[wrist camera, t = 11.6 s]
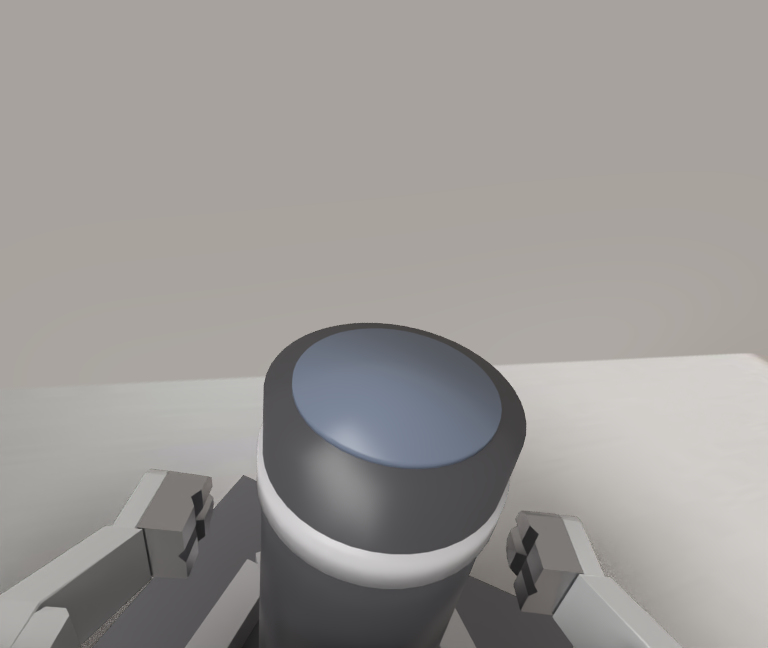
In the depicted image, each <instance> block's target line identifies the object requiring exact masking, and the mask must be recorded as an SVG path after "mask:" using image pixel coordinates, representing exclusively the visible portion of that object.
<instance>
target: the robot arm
mask: <svg viewBox="0 0 768 648" xmlns="http://www.w3.org/2000/svg"><path fill="white" fill-rule="evenodd" d="M211 488H212V477H208V476H201V475H194V474H187V473H179V472H172V471H164V470H156V469H150V470H149V471H147V472H146V473H145V474H144V476H143V477H142V479H141V480H140V482H139V484H138V485H137V487H136V488H135V490H134V492H133V493H132V495H131V496H130V498H129V500H128V501H127V503H126V504H125V506H124V508H123V509H122V511H121V512H120V514H119V516H118V517H117V519H116V520H115V522H114V524H113V525H112V526H110V525H105V526H104V527H102V528H101V529H99V530H98V531H96V532H95V533H93V534H92V535H90V536H89V537H87V538H86V539H84V540H83V541H81V542H80V543H78V544H77V545H75V546H74V547H72V548H71V549H69V550H68V551H66V552H65V553H63V554H61V555H60V556H58V557H57V558H55V559H54V560H52V561H51V562H49V563H48V564H46V565H45V566H43V567H42V568H40V569H39V570H37V571H36V572H34V573H33V574H31V575H30V576H28V577H27V578H25V579H24V580H22V581H20V582H19V583H17V584H16V585H14V586H13V587H11V588H10V589H8V590H7V591H5V592H4V593H2V594H1V595H0V648H82V647H81V644H83V643H84V642H85V641H86V640H87V639H88V638H89V637H90V636H91V635H92V634H93V633H94V632H95V631H96V630H98V629H99V628H100V627H101V626H102V625H103V624H104V623H105V622H106V621H107V620H108V619H109V618H110V617H111V616H112V615H114V614H115V613H116V612H117V611H118V610H119V609H120V608H121V607H122V606H123V605H124V604H125V603H126V602H127V601H129V600H130V599H131V598H132V597H133V596H134V595H135V594H136V593H137V592H138V591H139V590H140V589H141V588H142V587H143V586H145V585H146V584H147V583H148V582H149V581H150V580H151V577H165V578H180V579H188V577H189V575H190V572H191V570H192V568H193V565H194V563H195V560H196V558H197V555H198V553H199V552H198V541H200V540H201V539H202V538H203V537H205V536H206V533H207V530H208V528H209V525H210V521H211V517H212V514H213V505H214V503H213V497H212V496H211V495H210V494H209V493H210V491H211ZM516 523H517V526H516V527H515V528H513V529H511V530H510V533H509V535H508V538H507V547H506V551H507V559H508V563H509V567H510V569H511V570H512V571H513V572H514V573H515V574H516V575H517V578H516V580H515V583H514V588H515V592H516V596H517V600H518V604H519V608H520V611H523V612H531V613H539V614H547V615H553V619H554V620H555V621H556V623H557V624H558V626H559V627H560V628H561V630H562V631H563V632H564V634H565V635H566V637H567V638H568V639H569V641H570V642H571V643H572V645H573V646H574V648H683V647H682V646H681V645H680V644H679V643H678V642H677V641H676V640H675V639H674V638H673V637H672V636H671V635H670V634H669V633H668V632H666V631H665V630H664V629H663V628H662V627H661V626H660V625H659V624H658V623H657V622H656V621H655V620H654V619H653V618H652V617H651V616H650V615H649V614H648V613H647V612H646V611H645V610H644V609H643V608H642V607H641V606H640V605H639V604H638V603H637V602H636V601H635V600H634V599H633V598H632V597H631V596H630V595H629V594H627V593H626V592H625V591H624V590H623V589H622V588H621V587H620V586H619V585H618V584H617V583H616V582H615V581H614V580H613V579H612V578H611V577H605V575H604V572H603V570H602V568H601V566H600V563H599V561H598V559H597V557H596V554H595V552H594V550H593V548H592V545H591V543H590V541H589V539H588V536H587V534H586V532H585V529H584V527H583V525H582V523H581V521H580V519H579V518H578V517H575V516H566V515H557V514H551V513H541V512H530V511H521V512H519V513H518V515H517V517H516Z"/></svg>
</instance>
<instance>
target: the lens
mask: <svg viewBox="0 0 768 648" xmlns="http://www.w3.org/2000/svg"><path fill="white" fill-rule="evenodd" d="M525 436H526V419H525V413H524V410H523V407H522V404H521V401H520V400H519V398H518V396H517V394H516V392H515V390H514V389H513V388H512V386H511V385H510V384H509V382H508V381H507V380H506V379H505V378H504V377H503V376H502V374H501V373H500V372H499V371H498V370H496V369H495V368H494V367H493V366H492V365H491V364H490V363H488V362H487V361H485V360H484V359H483V358H481V357H480V356H478V355H477V354H475V353H474V352H472V351H470V350H469V349H467V348H465V347H463V346H461V345H460V344H458V343H456V342H453V341H451V340H448V339H446V338H444V337H441V336H438V335H436V334H433V333H430V332H426V331H423V330H419V329H415V328H410V327H405V326H400V325H392V324H382V323H354V324H346V325H339V326H333V327H329V328H325V329H321V330H318V331H315V332H313V333H310V334H308V335H305V336H303V337H302V338H300V339H298V340H296V341H295V342H293V343H291V344H290V345H289V346H287V347H286V348H285V349H284V350H283V351H282V352H281V353H280V354H279V355H278V356H277V357H276V358H275V360H274V361H273V362H272V364H271V366H270V368H269V370H268V372H267V374H266V378H265V382H264V403H263V423H262V426H261V428H260V432H259V437H258V441H257V488H258V496H259V500H260V503H261V553H260V603H259V648H439V645H440V643H441V640H442V638H443V636H444V633H445V631H446V628H447V626H448V624H449V621H450V619H451V617H452V614H453V612H454V609H455V607H456V605H457V602H458V600H459V597H460V595H461V593H462V590H463V588H464V586H465V583H466V581H467V578H468V576H469V574H470V571H471V569H472V566H473V564H474V562H475V559H476V557H477V556H478V555H479V554H480V552H481V551H482V550H483V548H484V547H485V545H486V544H487V542H488V541H489V539H490V537H491V535H492V532H493V530H494V528H495V526H496V523H497V521H498V519H499V516H500V514H501V512H502V510H503V507H504V505H505V503H506V499H507V495H508V491H509V482H510V476H511V474H512V471H513V469H514V466H515V464H516V462H517V459H518V457H519V454H520V452H521V450H522V447H523V444H524V440H525Z"/></svg>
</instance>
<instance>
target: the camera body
mask: <svg viewBox="0 0 768 648" xmlns="http://www.w3.org/2000/svg"><path fill="white" fill-rule="evenodd" d="M198 552H199V553H198V555H197V558H196V560H195V563H194V565H193V568H192V570H191V572H190V575H189V577H188V579H180V578H165V577H154V578H153V579H152V580H151V581H150V582H149V583H148V584H147V586H146V587H145V588H144V589H143V590H142V591H141V592H140V594H139V595H138V596H137V597H136V598H135V599H134V600H133V602H132V603H131V604H130V605H129V606H128V607H127V608H126V610H125V611H124V612H123V613H122V614H121V615H120V616H119V618H118V619H117V620H116V621H115V622H114V623H113V624H112V626H111V627H110V628H109V629H108V630H107V631H106V632H105V633H104V635H103V636H102V637H101V638H100V639H99V640H98V641H97V643H96V644H95V645H94V646H93V647H92V648H259V603H260V553H261V503H260V500H259V496H258V488H257V481H255V480H253V479H251V478H249V477H246V476H244V475H243V476H242V477H241V479H240V480H239V481H238V482H237V483H236V484H235V485H234V486H233V488H232V489H231V490H230V491H229V492H228V493H227V494H226V496H225V497H224V498H223V499H222V500H221V501H220V502H219V504H218V505H217V506H216V507H215V508H214V509H213V514H212V517H211V521H210V525H209V528H208V530H207V533H206V536H205V537H203V538H202V539H201V540H200V541H198ZM439 648H573V645H572V643H571V642H570V641H569V639H568V638H567V637H566V635H565V634H564V632H563V631H562V630H561V628H560V627H559V626H558V624H557V623H556V621H555V620H554V619H553V615H547V614H539V613H531V612H523V611H520V608H519V604H518V600H517V597H516V596H514V595H512V594H510V593H507V592H505V591H503V590H501V589H498V588H496V587H494V586H492V585H489V584H487V583H485V582H483V581H480V580H478V579H476V578H474V577H471V576H468V578H467V581H466V583H465V586H464V588H463V590H462V593H461V595H460V597H459V600H458V602H457V605H456V607H455V609H454V612H453V614H452V617H451V619H450V621H449V624H448V626H447V628H446V631H445V633H444V636H443V638H442V640H441V643H440V645H439Z"/></svg>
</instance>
